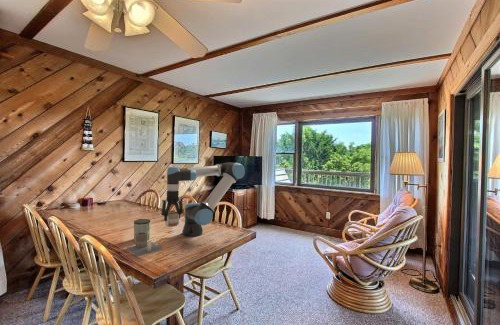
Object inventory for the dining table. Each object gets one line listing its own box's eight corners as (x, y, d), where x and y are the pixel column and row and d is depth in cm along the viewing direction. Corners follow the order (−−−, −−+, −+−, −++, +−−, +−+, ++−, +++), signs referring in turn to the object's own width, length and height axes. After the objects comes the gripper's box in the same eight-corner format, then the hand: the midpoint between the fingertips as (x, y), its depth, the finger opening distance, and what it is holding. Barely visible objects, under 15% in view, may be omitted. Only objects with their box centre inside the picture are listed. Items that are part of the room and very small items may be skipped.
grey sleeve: (141, 243, 167) (141, 231, 167) (149, 245, 165) (149, 232, 164) (133, 246, 161) (133, 234, 161) (141, 248, 158) (141, 235, 158)
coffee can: (131, 240, 175) (131, 220, 175) (146, 237, 182) (147, 218, 182) (136, 245, 168) (136, 223, 167) (152, 241, 175) (152, 221, 174)
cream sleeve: (174, 223, 175) (174, 211, 175) (179, 225, 170) (179, 213, 170) (164, 224, 170) (165, 212, 170) (169, 227, 166) (169, 214, 165)
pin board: (151, 243, 171) (152, 233, 170) (164, 251, 158) (164, 240, 157) (126, 249, 160) (126, 238, 159) (137, 258, 147) (137, 246, 146)
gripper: (183, 188, 179) (182, 221, 180) (155, 190, 165) (155, 226, 166) (189, 189, 174) (188, 223, 174) (160, 192, 160) (160, 228, 161)
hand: (172, 224), depth 170 cm, fingers closed on cream sleeve, 7 cm apart
